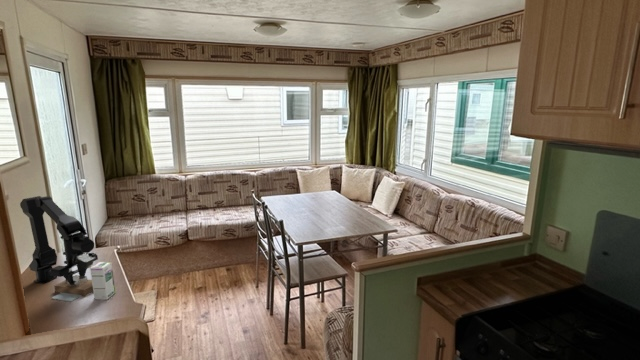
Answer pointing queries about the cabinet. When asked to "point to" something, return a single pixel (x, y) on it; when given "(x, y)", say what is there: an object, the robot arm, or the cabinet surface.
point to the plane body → (75, 288)
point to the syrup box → (102, 280)
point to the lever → (77, 271)
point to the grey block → (78, 280)
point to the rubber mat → (66, 296)
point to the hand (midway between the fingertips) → (77, 282)
